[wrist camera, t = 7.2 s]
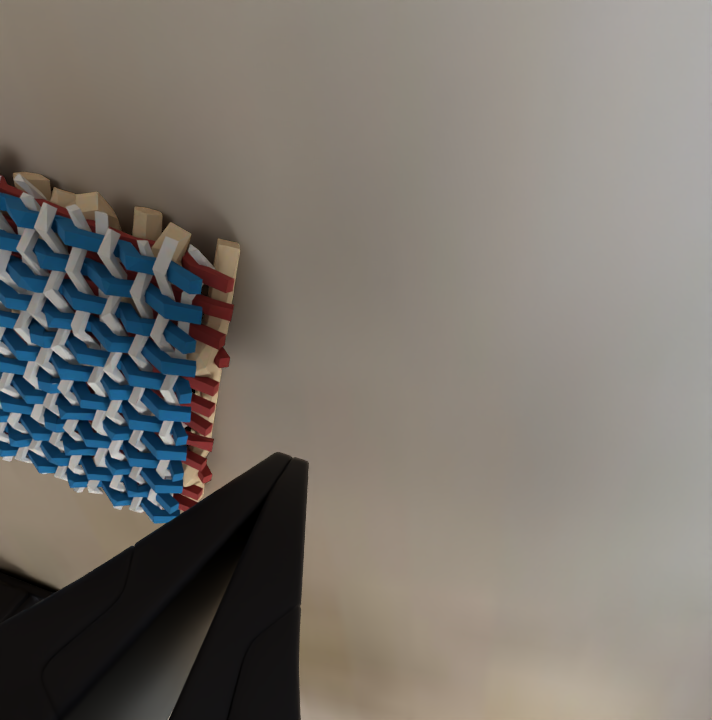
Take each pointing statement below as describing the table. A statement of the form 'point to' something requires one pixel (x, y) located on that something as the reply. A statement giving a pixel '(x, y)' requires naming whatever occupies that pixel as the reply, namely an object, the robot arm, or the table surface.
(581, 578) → the table surface
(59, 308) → the woven mat
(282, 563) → the robot arm
